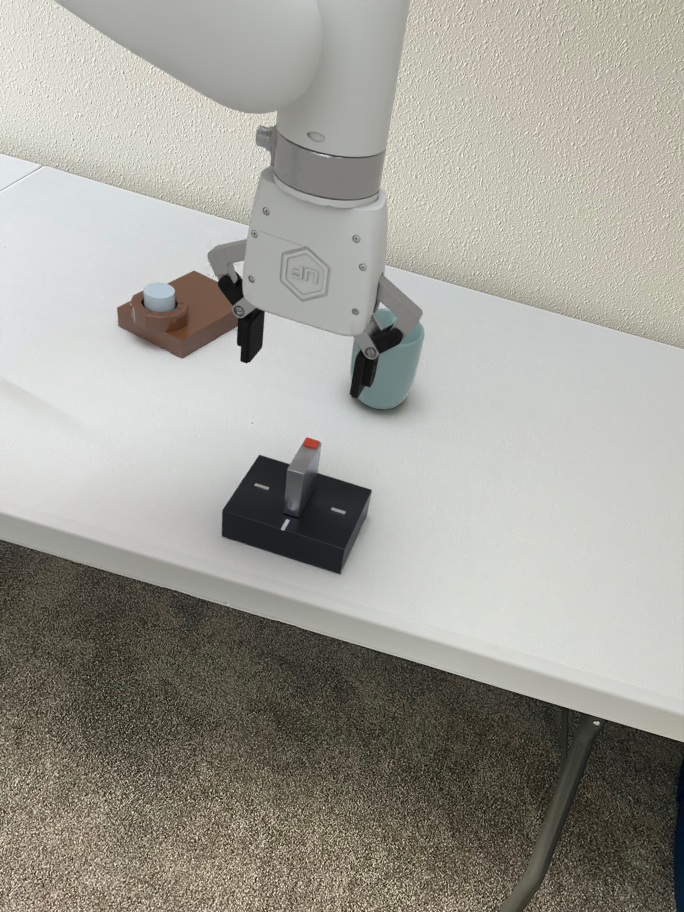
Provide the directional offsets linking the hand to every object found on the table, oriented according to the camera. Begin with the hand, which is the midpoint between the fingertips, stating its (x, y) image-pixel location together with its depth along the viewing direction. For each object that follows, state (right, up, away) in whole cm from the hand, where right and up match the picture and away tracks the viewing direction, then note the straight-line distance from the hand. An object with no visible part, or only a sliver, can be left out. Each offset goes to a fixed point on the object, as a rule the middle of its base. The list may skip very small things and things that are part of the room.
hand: (304, 372), depth 66 cm
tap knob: (-2, -10, +9) cm, 14 cm away
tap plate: (-2, -13, +12) cm, 17 cm away
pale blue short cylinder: (-21, +14, +27) cm, 37 cm away
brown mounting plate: (-19, +14, +34) cm, 41 cm away
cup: (+5, +3, +29) cm, 30 cm away
